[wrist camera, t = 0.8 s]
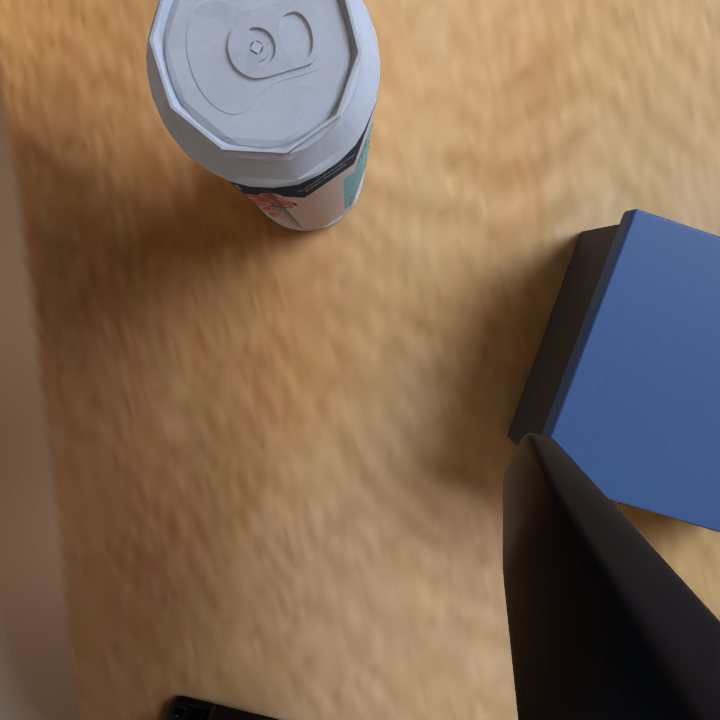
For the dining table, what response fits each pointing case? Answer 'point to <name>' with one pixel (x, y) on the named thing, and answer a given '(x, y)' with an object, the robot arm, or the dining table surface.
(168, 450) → the dining table surface
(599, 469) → the container
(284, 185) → the beer can
